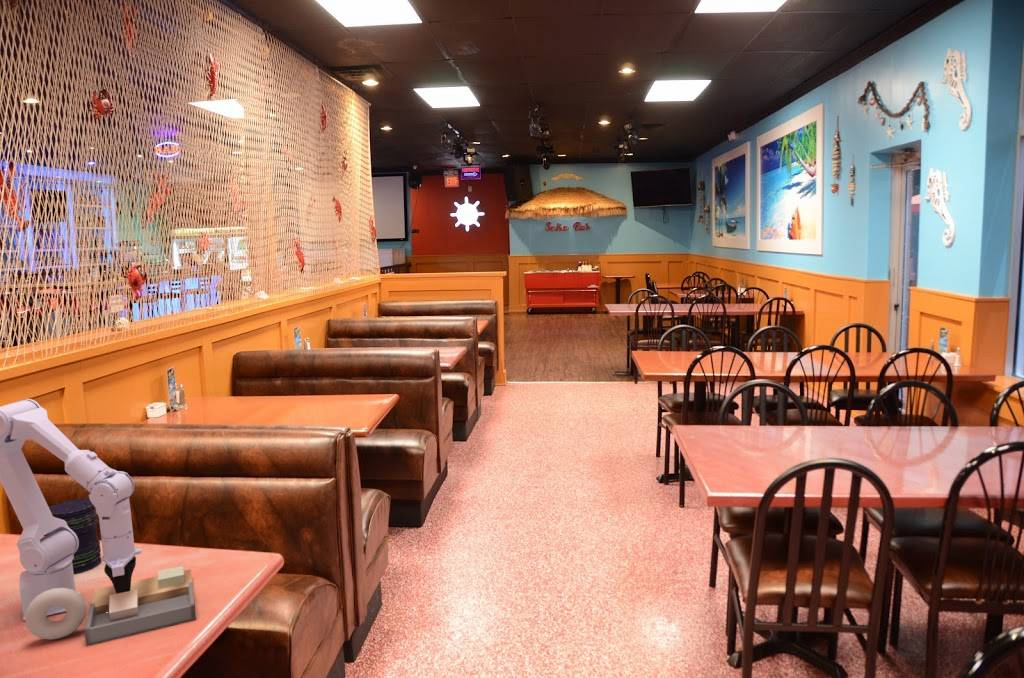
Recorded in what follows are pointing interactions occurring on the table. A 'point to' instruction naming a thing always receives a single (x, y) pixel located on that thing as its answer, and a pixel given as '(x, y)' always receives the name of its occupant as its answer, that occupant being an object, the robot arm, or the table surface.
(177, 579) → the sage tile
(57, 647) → the table surface
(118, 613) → the cream tile
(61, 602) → the donut
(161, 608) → the box
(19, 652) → the table surface
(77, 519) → the storage jar
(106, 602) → the oak board
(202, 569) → the table surface
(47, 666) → the table surface
